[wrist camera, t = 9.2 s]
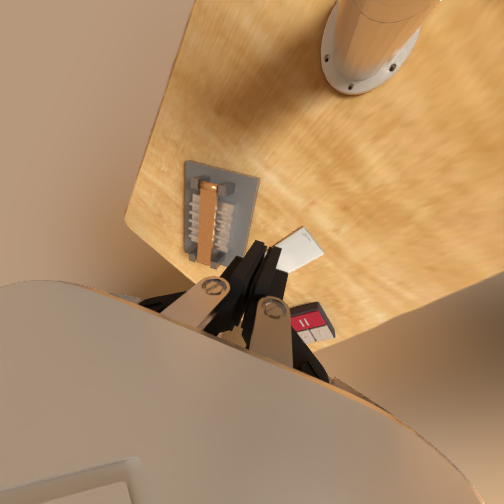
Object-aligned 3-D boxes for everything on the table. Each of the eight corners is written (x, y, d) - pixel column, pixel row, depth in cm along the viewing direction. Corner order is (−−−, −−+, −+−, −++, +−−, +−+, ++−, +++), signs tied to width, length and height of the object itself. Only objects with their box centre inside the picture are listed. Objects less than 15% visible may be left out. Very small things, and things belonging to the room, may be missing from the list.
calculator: (336, 340, 50) (286, 349, 56) (334, 327, 54) (287, 337, 60) (319, 309, 47) (268, 323, 53) (318, 298, 51) (270, 312, 57)
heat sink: (199, 173, 41) (185, 176, 37) (240, 184, 40) (231, 188, 35) (195, 249, 51) (184, 258, 47) (228, 261, 50) (220, 271, 45)
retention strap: (203, 180, 38) (199, 181, 37) (219, 184, 37) (216, 185, 36) (199, 259, 48) (196, 262, 47) (212, 263, 47) (209, 267, 46)
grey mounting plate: (190, 160, 43) (185, 160, 41) (260, 178, 40) (258, 179, 38) (188, 249, 55) (184, 252, 53) (242, 267, 52) (239, 271, 50)
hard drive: (303, 227, 41) (262, 254, 47) (325, 254, 42) (282, 278, 49) (304, 224, 42) (263, 252, 49) (324, 251, 44) (283, 274, 50)
